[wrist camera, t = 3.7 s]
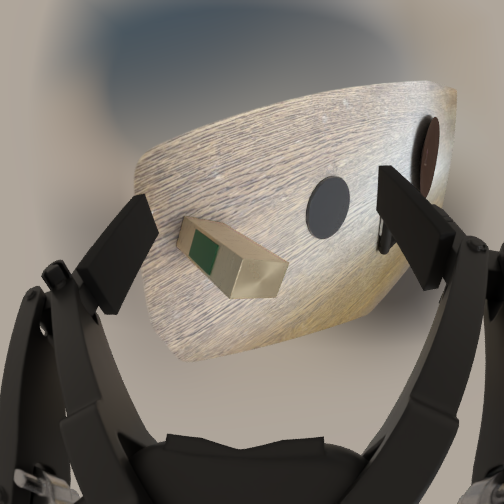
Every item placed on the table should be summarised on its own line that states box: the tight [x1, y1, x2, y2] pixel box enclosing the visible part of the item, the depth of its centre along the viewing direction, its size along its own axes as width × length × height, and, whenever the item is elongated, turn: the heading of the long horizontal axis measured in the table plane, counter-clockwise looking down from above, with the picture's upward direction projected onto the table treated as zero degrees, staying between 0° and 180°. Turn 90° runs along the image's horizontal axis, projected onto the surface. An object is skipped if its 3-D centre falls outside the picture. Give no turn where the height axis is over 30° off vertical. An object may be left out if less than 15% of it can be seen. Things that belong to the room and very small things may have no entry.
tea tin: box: [176, 216, 289, 299], centre depth 31 cm, size 6×4×13 cm, turn 68°
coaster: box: [306, 176, 350, 239], centre depth 49 cm, size 12×12×1 cm
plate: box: [420, 117, 440, 198], centre depth 69 cm, size 28×28×4 cm
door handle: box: [379, 218, 396, 254], centre depth 66 cm, size 3×20×16 cm
